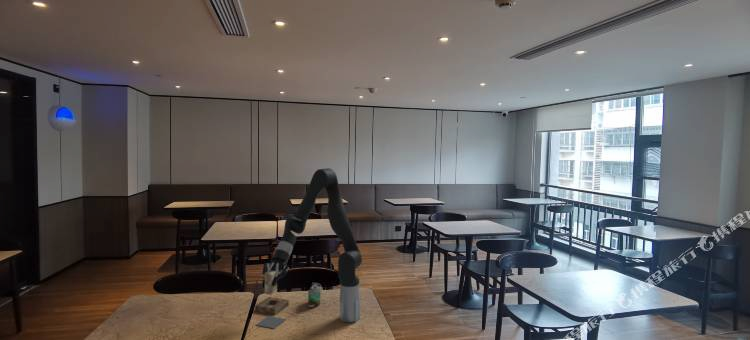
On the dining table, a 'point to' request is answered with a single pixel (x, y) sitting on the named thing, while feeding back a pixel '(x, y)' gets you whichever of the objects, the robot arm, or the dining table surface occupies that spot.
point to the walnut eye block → (272, 305)
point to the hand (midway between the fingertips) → (268, 284)
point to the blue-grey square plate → (271, 322)
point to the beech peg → (268, 280)
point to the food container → (314, 295)
